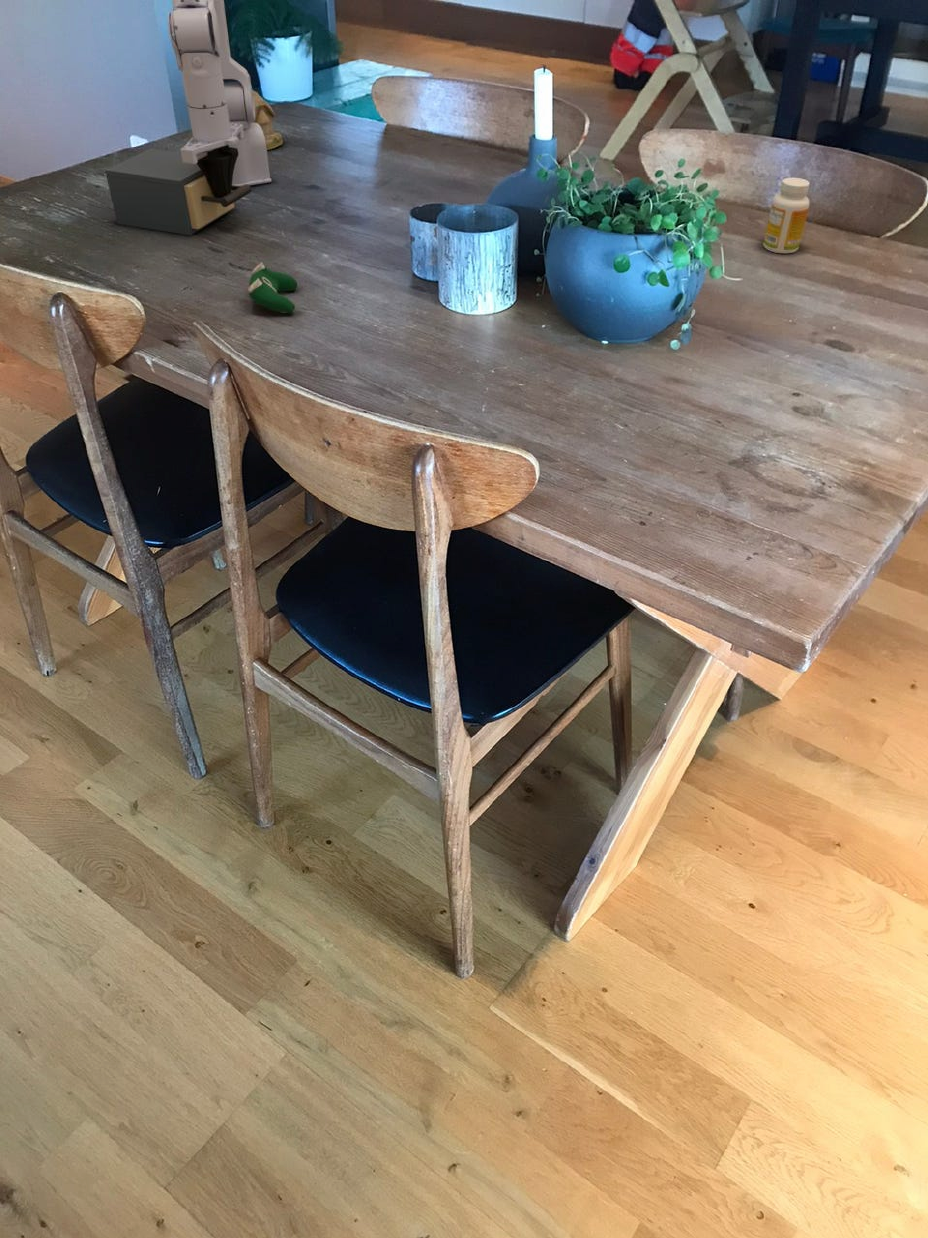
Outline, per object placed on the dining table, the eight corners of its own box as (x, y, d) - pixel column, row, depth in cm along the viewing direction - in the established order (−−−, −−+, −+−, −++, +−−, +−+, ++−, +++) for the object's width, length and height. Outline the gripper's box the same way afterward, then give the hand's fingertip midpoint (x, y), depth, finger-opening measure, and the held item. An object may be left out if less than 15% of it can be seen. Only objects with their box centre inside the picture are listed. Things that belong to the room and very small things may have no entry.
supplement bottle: (799, 243, 145) (816, 177, 138) (796, 256, 141) (813, 189, 134) (764, 239, 146) (779, 173, 140) (760, 251, 142) (775, 184, 136)
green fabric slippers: (283, 300, 132) (248, 271, 129) (299, 280, 130) (265, 251, 127) (279, 329, 125) (242, 299, 122) (296, 309, 123) (259, 278, 120)
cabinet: (231, 210, 153) (223, 157, 148) (190, 235, 145) (180, 180, 140) (161, 199, 157) (150, 147, 151) (117, 223, 148) (104, 169, 143)
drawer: (260, 210, 151) (255, 169, 147) (225, 233, 143) (218, 190, 139) (169, 197, 155) (161, 156, 151) (130, 218, 148) (120, 176, 143)
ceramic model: (209, 139, 183) (200, 81, 176) (257, 128, 188) (250, 72, 182) (249, 155, 175) (241, 96, 168) (298, 143, 181) (292, 86, 174)
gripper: (204, 118, 131) (221, 218, 140) (255, 94, 141) (268, 188, 150) (161, 114, 132) (180, 212, 142) (215, 90, 143) (230, 183, 152)
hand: (223, 199), depth 146 cm, fingers closed, pressing on drawer
